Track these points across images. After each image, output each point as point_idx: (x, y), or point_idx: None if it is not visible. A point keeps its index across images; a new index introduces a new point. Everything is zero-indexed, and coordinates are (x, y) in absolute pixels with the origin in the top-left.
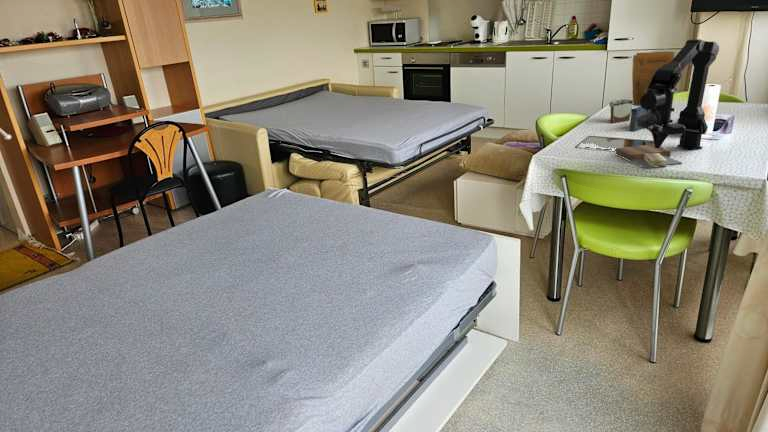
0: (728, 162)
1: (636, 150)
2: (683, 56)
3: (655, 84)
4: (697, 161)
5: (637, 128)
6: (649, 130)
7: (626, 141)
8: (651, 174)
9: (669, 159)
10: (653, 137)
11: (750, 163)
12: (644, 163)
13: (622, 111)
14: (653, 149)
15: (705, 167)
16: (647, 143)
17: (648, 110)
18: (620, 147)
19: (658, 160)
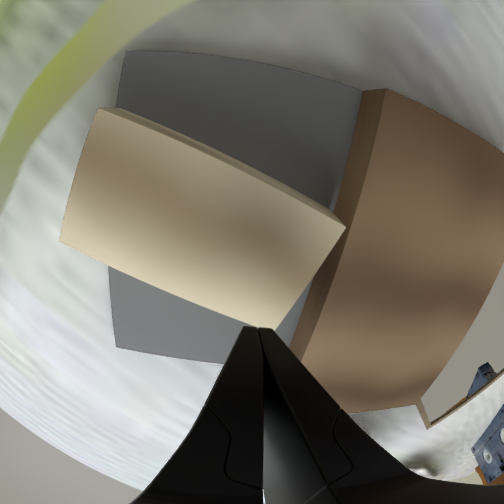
0: (101, 442)
1: (442, 249)
2: None
3: (501, 483)
4: (140, 408)
5: (500, 416)
6: (471, 499)
7: None
8: (24, 28)
9: (202, 341)
10: (339, 426)
11: (82, 454)
12: (211, 106)
13: None
14: (368, 360)
15: (49, 367)
16: (452, 395)
17: (500, 463)
18: None
19: (77, 169)
